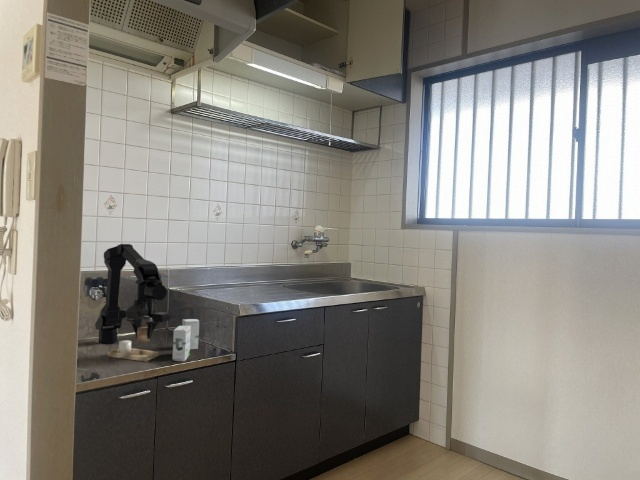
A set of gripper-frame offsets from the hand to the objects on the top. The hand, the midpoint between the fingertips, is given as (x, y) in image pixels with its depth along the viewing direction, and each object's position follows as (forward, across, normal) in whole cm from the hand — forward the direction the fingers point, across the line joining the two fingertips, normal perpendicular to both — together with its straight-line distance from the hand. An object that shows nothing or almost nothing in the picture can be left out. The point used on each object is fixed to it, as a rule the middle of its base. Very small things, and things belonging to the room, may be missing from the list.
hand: (143, 338), depth 184 cm
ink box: (+8, +12, +7) cm, 16 cm away
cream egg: (+7, -8, 0) cm, 11 cm away
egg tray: (+8, -4, 0) cm, 9 cm away
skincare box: (+8, +8, +20) cm, 23 cm away
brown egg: (+1, 0, 0) cm, 1 cm away
